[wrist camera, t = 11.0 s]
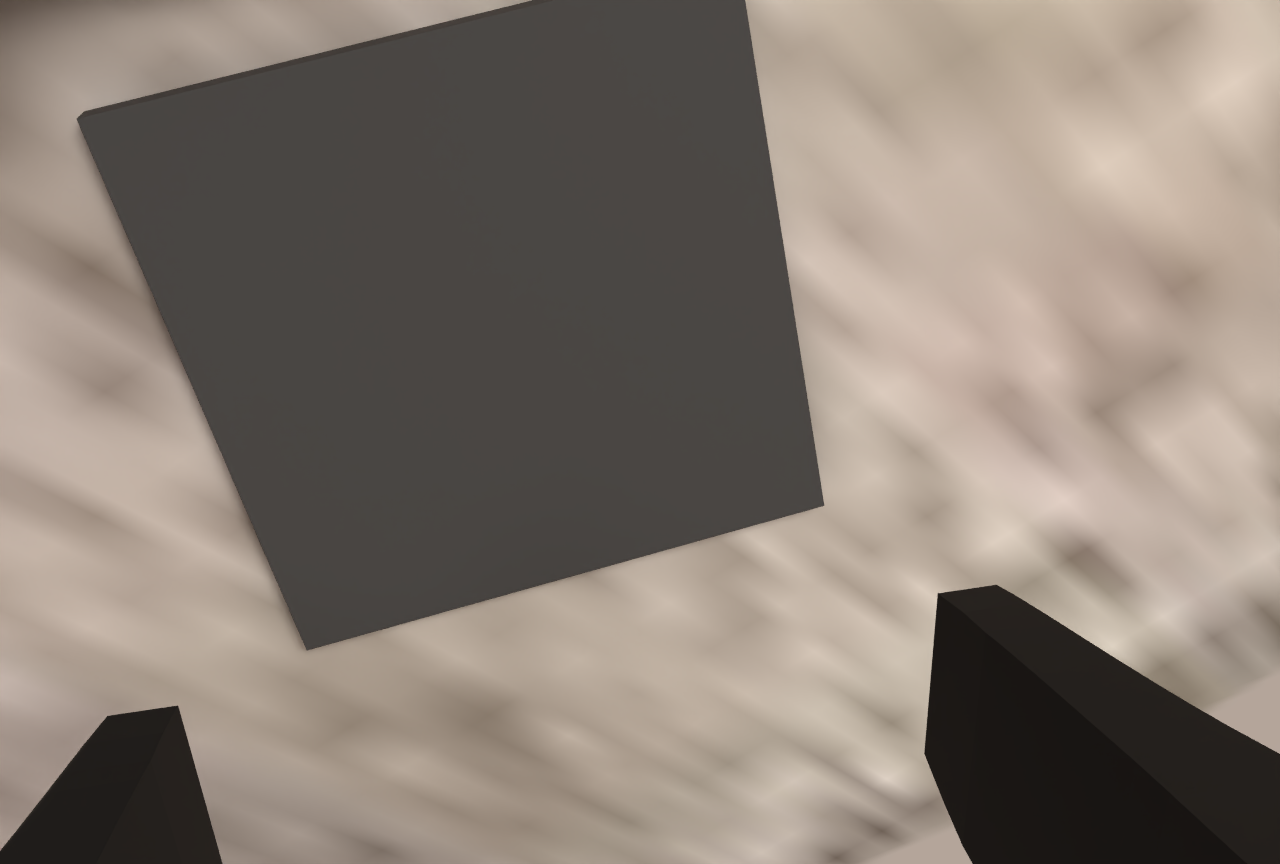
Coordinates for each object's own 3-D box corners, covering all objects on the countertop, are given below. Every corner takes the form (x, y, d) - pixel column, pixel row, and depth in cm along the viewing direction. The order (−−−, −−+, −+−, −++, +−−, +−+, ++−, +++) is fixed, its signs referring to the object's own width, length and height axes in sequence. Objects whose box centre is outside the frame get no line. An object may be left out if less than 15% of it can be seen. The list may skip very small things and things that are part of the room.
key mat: (309, 634, 23) (306, 650, 22) (84, 111, 18) (77, 118, 18) (816, 492, 23) (824, 505, 23) (729, -48, 19) (737, -45, 18)
